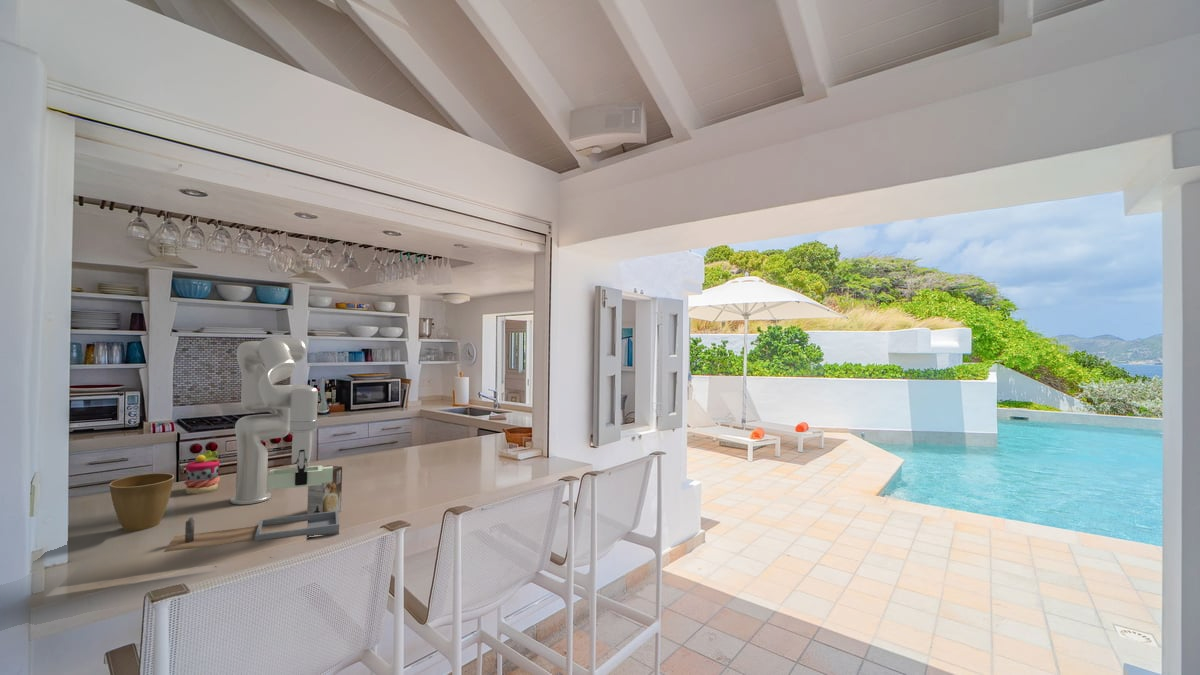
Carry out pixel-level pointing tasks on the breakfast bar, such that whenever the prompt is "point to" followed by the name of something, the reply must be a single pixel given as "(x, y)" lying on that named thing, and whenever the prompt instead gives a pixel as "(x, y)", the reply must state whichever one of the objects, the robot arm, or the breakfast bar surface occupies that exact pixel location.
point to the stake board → (208, 537)
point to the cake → (202, 474)
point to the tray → (316, 526)
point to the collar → (287, 477)
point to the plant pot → (141, 499)
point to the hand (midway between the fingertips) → (301, 481)
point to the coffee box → (326, 494)
